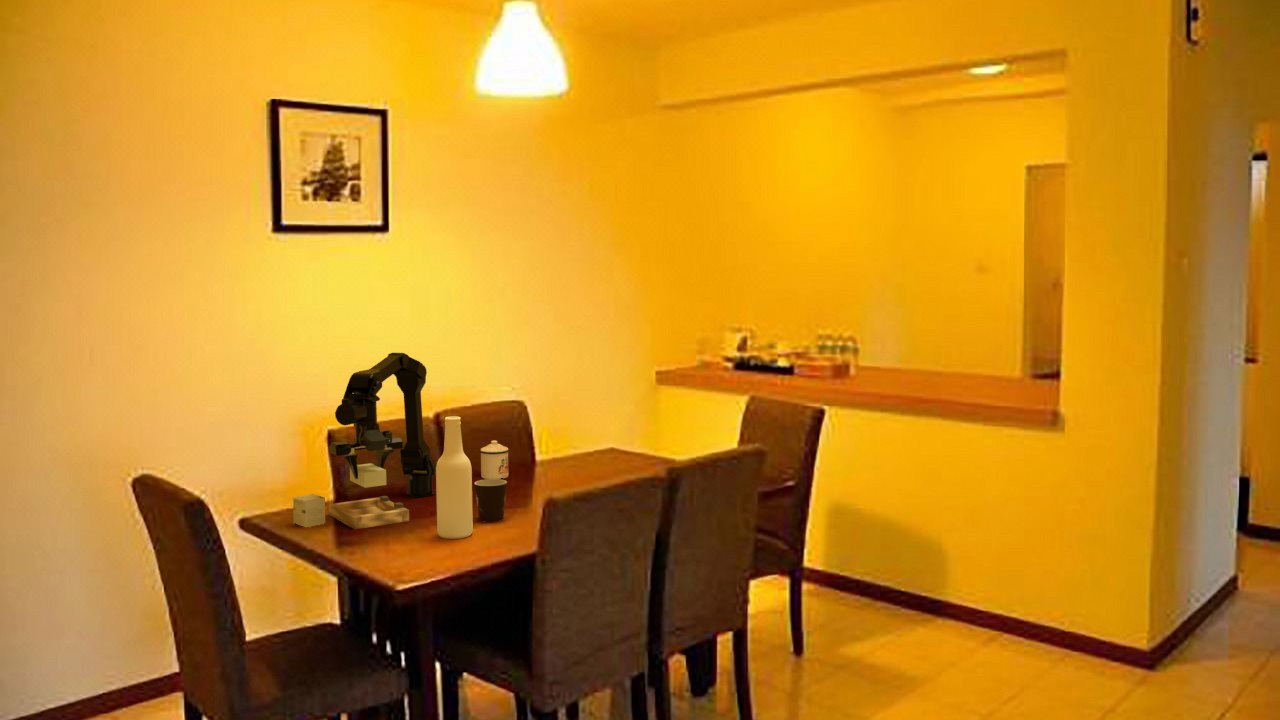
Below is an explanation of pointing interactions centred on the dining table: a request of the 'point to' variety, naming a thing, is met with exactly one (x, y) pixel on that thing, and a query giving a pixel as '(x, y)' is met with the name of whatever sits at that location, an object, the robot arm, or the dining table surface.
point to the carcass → (369, 512)
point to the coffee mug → (490, 499)
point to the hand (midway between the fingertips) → (367, 477)
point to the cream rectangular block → (369, 475)
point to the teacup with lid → (494, 461)
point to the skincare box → (309, 510)
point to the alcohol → (454, 485)
